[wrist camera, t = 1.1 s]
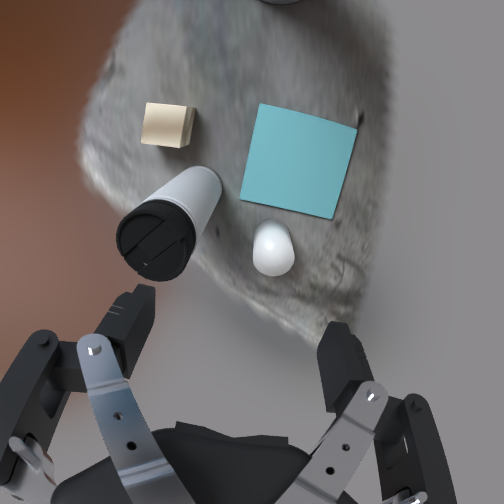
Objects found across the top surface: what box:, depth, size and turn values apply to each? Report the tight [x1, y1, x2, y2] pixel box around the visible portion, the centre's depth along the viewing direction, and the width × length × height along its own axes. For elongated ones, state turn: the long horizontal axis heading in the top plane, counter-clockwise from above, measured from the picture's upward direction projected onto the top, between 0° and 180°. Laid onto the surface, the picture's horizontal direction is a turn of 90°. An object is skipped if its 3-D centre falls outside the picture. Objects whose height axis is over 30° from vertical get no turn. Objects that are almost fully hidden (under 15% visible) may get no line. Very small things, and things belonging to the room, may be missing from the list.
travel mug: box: [116, 165, 222, 282], centre depth 29 cm, size 6×7×20 cm
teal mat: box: [240, 104, 357, 219], centre depth 36 cm, size 13×13×1 cm
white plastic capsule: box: [253, 219, 295, 276], centre depth 38 cm, size 5×5×7 cm
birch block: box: [141, 103, 196, 148], centre depth 32 cm, size 5×5×5 cm
